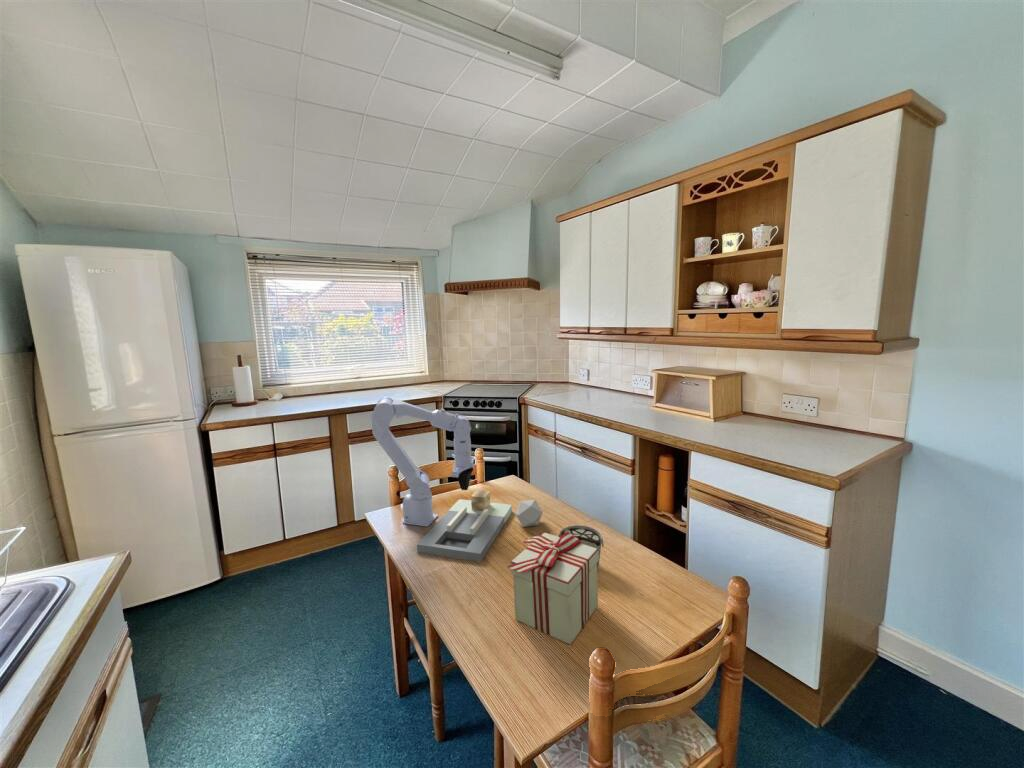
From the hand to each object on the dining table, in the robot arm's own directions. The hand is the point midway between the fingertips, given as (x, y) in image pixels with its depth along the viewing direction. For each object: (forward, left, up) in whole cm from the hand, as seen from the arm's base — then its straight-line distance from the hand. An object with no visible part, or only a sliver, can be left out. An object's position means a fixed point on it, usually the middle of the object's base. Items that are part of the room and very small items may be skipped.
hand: (464, 489), depth 145 cm
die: (+23, -1, -10) cm, 25 cm away
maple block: (+5, +2, -7) cm, 9 cm away
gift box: (+38, -40, -10) cm, 56 cm away
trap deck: (+5, -9, -9) cm, 14 cm away
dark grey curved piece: (+43, -19, -10) cm, 48 cm away
